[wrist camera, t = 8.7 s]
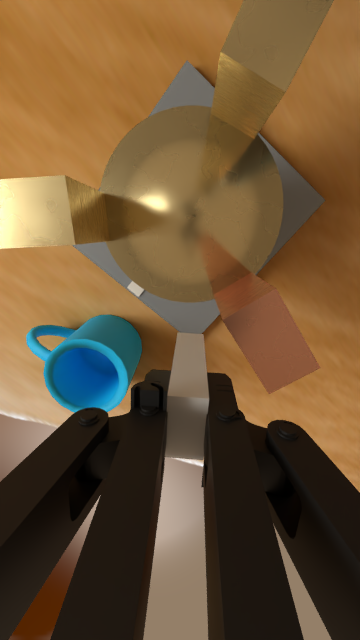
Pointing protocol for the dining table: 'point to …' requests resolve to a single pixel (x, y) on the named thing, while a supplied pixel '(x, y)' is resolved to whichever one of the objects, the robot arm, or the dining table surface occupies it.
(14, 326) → the dining table surface
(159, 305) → the post base
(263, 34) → the three-blade desk fan
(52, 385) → the mug
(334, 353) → the dining table surface
